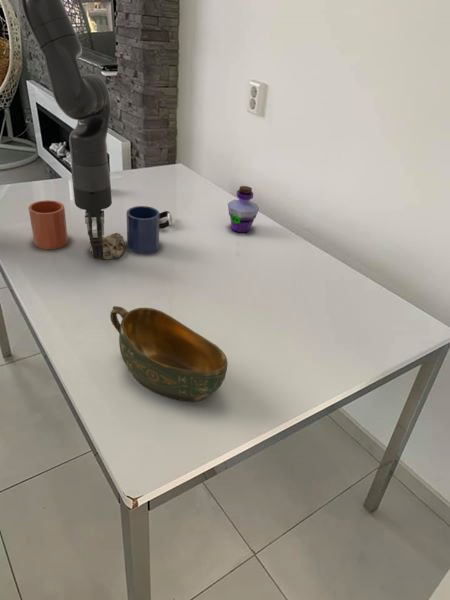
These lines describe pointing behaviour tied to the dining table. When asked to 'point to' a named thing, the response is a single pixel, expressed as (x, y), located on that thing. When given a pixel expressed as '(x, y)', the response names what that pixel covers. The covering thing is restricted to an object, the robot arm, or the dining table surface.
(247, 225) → the potion bottle
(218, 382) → the painted kuksa bowl
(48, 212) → the cup left
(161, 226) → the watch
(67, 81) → the robot arm
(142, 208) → the cup right
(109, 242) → the mineral rock
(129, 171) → the dining table surface
